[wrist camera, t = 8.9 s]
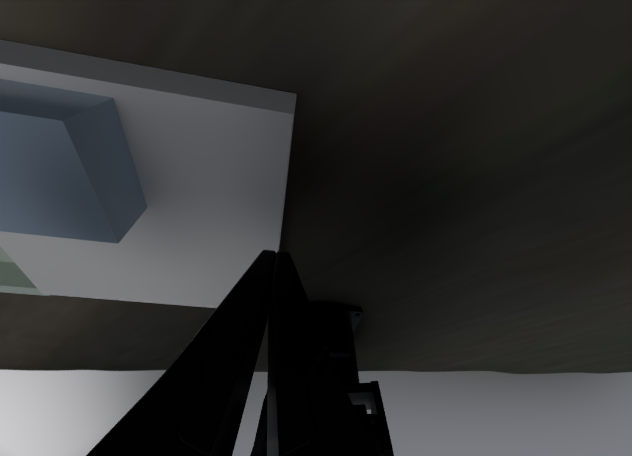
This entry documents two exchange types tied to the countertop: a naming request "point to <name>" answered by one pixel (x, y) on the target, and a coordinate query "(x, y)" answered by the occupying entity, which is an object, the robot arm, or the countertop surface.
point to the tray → (14, 277)
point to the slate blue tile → (65, 165)
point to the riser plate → (168, 181)
